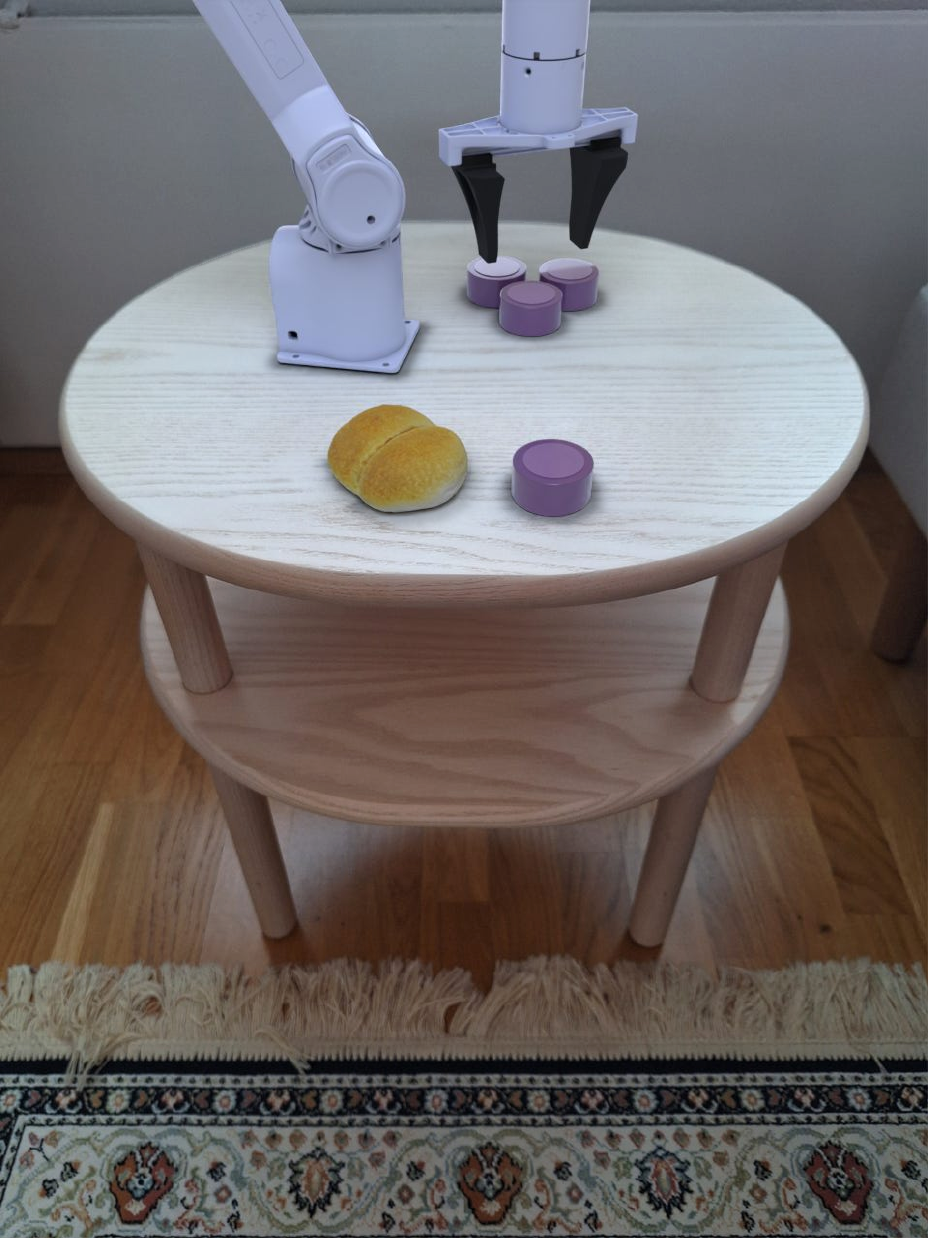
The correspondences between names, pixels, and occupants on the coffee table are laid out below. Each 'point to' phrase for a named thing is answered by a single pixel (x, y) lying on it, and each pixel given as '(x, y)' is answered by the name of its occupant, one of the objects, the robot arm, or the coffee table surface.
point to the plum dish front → (552, 477)
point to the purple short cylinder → (492, 279)
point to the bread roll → (398, 459)
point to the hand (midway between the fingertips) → (533, 251)
